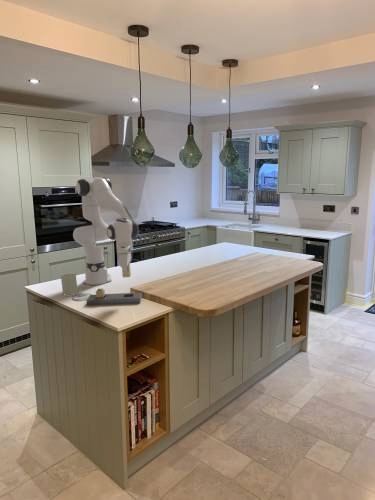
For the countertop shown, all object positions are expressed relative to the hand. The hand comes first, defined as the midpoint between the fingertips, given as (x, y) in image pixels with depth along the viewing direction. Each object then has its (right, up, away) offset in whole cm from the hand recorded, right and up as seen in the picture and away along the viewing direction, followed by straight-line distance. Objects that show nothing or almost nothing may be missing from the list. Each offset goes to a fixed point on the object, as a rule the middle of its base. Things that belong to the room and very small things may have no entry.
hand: (126, 271), depth 218 cm
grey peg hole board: (-7, -18, +4) cm, 19 cm away
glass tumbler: (-39, -15, +22) cm, 47 cm away
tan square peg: (-15, -18, +4) cm, 24 cm away
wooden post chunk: (0, -3, +1) cm, 3 cm away
